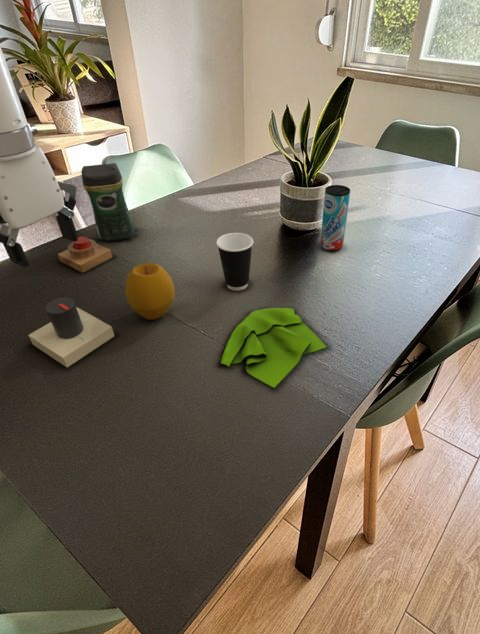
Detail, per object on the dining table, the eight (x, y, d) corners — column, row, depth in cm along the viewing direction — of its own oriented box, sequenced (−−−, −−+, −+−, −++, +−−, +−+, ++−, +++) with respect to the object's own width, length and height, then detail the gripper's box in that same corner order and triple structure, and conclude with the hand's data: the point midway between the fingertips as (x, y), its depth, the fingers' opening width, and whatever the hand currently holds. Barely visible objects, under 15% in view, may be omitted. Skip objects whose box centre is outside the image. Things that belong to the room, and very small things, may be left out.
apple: (165, 333, 85) (155, 284, 77) (122, 324, 87) (108, 275, 80) (186, 305, 92) (178, 257, 84) (146, 298, 94) (134, 250, 86)
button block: (60, 261, 106) (54, 247, 104) (90, 247, 112) (85, 233, 109) (82, 273, 102) (77, 258, 100) (112, 257, 108) (108, 243, 105)
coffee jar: (134, 226, 120) (119, 158, 108) (135, 239, 114) (119, 168, 102) (99, 231, 118) (79, 161, 106) (98, 244, 113) (77, 172, 100)
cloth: (294, 302, 93) (294, 293, 91) (342, 369, 77) (343, 359, 76) (203, 323, 87) (201, 314, 86) (234, 399, 72) (234, 389, 71)
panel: (32, 344, 83) (27, 334, 81) (80, 316, 90) (76, 306, 88) (67, 367, 78) (62, 357, 76) (114, 336, 85) (111, 325, 83)
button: (71, 247, 104) (69, 241, 103) (84, 241, 106) (82, 235, 105) (80, 251, 103) (78, 245, 101) (93, 245, 105) (91, 239, 104)
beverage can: (315, 246, 111) (319, 189, 101) (330, 239, 114) (336, 182, 104) (332, 254, 108) (338, 196, 98) (347, 247, 111) (355, 190, 101)
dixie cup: (213, 288, 97) (208, 244, 90) (232, 272, 102) (229, 229, 95) (242, 298, 94) (240, 253, 87) (261, 281, 99) (260, 237, 92)
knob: (51, 332, 82) (39, 305, 78) (73, 319, 85) (63, 293, 80) (66, 342, 80) (55, 315, 75) (89, 328, 83) (79, 302, 78)
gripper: (39, 123, 66) (73, 226, 78) (-74, 155, 55) (-15, 269, 67) (71, 129, 63) (102, 235, 75) (-41, 165, 53) (15, 282, 64)
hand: (47, 251), depth 71 cm, fingers open, 9 cm apart
